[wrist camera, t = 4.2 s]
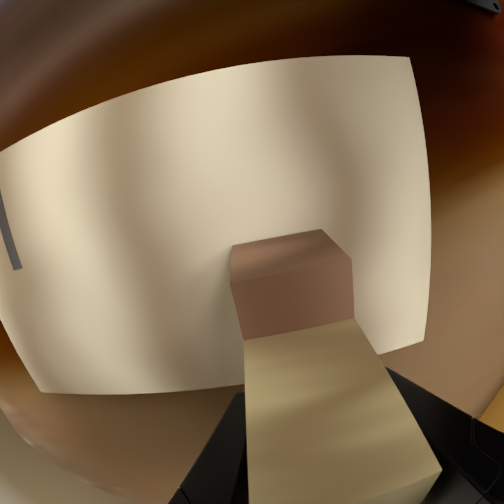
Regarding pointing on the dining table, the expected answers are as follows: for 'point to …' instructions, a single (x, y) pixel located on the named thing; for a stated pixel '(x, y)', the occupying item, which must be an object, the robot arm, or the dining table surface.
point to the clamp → (495, 412)
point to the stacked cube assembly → (319, 384)
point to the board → (208, 217)
